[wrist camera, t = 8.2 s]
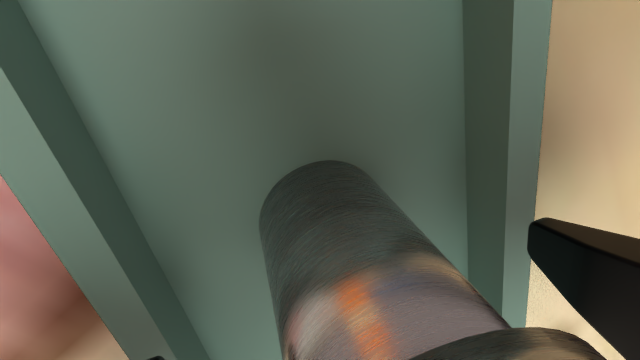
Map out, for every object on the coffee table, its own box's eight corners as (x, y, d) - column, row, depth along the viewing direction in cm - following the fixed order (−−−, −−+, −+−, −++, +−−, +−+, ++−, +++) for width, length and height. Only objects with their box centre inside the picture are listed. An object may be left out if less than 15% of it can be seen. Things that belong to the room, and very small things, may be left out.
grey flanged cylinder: (407, 257, 13) (638, 554, 6) (265, 307, 12) (329, 714, 5) (389, 118, 10) (747, 335, 3) (213, 171, 10) (193, 579, 3)
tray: (480, 360, 18) (518, 409, 15) (242, 457, 16) (246, 527, 14) (481, -302, 8) (587, -429, 5) (-155, -220, 6) (-367, -353, 4)
